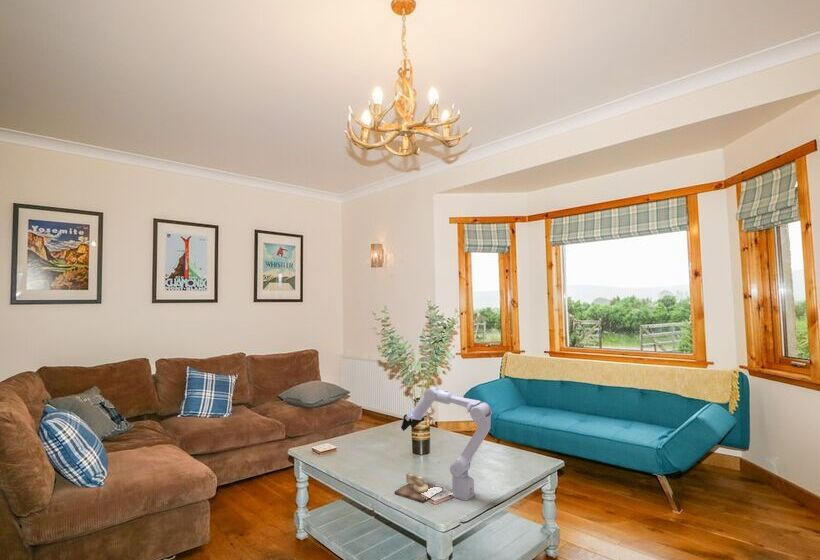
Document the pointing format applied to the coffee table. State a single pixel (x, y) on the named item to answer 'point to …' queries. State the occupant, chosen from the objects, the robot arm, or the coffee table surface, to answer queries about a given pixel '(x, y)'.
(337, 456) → the coffee table surface
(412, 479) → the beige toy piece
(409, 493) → the plate
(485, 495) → the coffee table surface
